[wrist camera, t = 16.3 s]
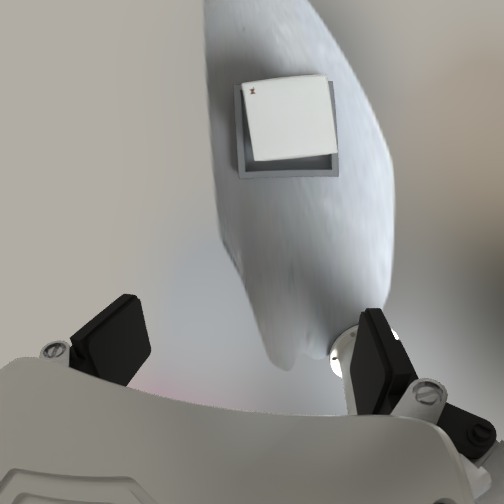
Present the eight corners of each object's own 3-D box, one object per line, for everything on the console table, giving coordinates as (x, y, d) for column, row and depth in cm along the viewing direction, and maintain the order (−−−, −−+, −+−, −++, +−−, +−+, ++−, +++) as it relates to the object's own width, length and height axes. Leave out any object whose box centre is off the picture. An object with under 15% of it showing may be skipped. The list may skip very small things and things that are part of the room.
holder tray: (334, 175, 34) (338, 176, 31) (242, 177, 35) (238, 178, 33) (329, 87, 30) (332, 81, 27) (237, 90, 32) (233, 85, 29)
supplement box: (263, 162, 34) (250, 162, 22) (256, 107, 31) (239, 80, 20) (321, 156, 32) (339, 154, 21) (314, 101, 30) (326, 71, 18)
